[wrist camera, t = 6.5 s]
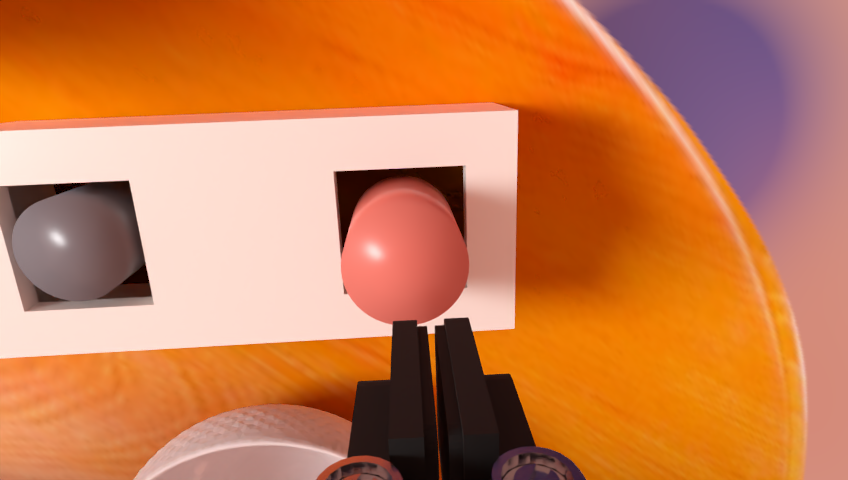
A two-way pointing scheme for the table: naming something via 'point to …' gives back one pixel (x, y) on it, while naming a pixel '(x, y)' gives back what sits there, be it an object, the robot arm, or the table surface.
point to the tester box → (249, 221)
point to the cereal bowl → (254, 446)
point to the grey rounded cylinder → (80, 241)
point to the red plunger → (404, 252)
